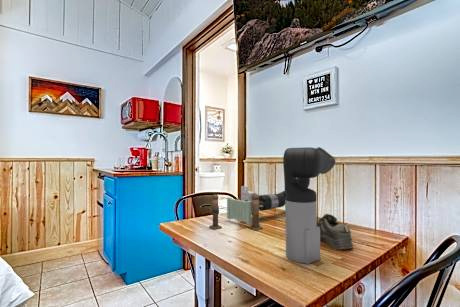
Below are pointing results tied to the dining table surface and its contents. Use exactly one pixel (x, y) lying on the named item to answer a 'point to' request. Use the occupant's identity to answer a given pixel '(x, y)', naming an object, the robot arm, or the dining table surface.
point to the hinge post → (255, 212)
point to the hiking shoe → (335, 232)
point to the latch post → (215, 213)
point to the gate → (239, 210)
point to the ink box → (246, 194)
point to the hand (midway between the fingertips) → (239, 206)
